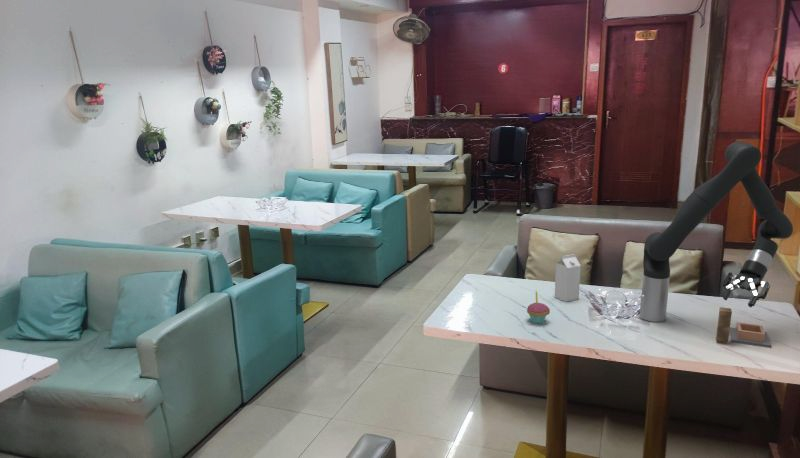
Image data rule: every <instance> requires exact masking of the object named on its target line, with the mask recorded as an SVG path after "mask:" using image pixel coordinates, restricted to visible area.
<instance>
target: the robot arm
mask: <svg viewBox="0 0 800 458" xmlns="http://www.w3.org/2000/svg"><path fill="white" fill-rule="evenodd" d="M724 158H725V161H726V163H727V164H726V166H724V167H723V169H722V170H721V171H719V173H717V175H714V176H713V177H712V178H711V179H709V180H707V181H705V182H703V183H702V184H700V185H699V186H698V187H696V188H695V189H694V190H693V191H692V192H691V193H690V194H689V196H687V198H685V200H684V201H683V202H682V203H681V206H680V207H679V208H678V211H677V212H676V215H675V216H674V219H673V220H672V221H671V223H670V224H669V225H668V227H666V228H665V230H663V231H662V232H653V233H650V234H649V235H648V236H647V237H646V239H645V241H644V246H643V247H644V248H643V263H642V264H643V265H642V266H643V277H642V285H641V286H642V287H641V297H640V307H639V319H641V320H645V321H647V322H653V323H662V322H665V321H666V318H667V309H668V308H667V307H668V297H669V288H670V277H671V267H670V258H672V257H673V255H674V254H675V253H676V251H677V250H678V248H679V247H680V246H681V245H682V243H684V241H685V240H686V238H687V237H688V236H689V235H690V233H692V232H693V231H694V230H695V229H696V228H697V227H698V226H699V225H700V224H701V223H702V222H703V221H704V219H706V217H708V216H709V215H710V214H711V212H713V211H714V209H715V208H716V207H717V206H718V205H719V203H720V202H721V201H723V199H724V198H726V197H727V195H728V194H729V193H730V192H731V191H732V190H733V189H734V187H735V186H737V184H739V183H741V184H742V187H743V188H744V191H745V192H746V194H747V195H748V199H749V200H750V203H751V205H752V206H753V209H754V211H755V214H756V215H757V217H758V218H760V219H763V221H762V222H760V224H759V226H758V229H757V230H758V231H757V236H756V243H755V244H754V246H753V248H752V250H751V252H750V253H749V254H748V255H747V257H746V258H745V259H746V260H745V261H744V263H743V265H742V267H741V269H740V271H739V273H738V274H737V275H736V274H733V273H732V271H731V272H728V273H727V275H726V277H725V278H724V279H723V281H722V283H721V286H722V288H723V289H724V291H723V293H722V298H723V300H724V301H727V300H728V299H729V297H730V295H731V293H732V292H733V291H735V290H738V289H740V290H746V291H749V292H751V291H752V294H753V295H751V297H750V298H749V301H748V303H747V305H748V307H749V308H752V307H755V305H756V303H757V301H758V300H759V299H762V300H766V297H767V295H768V293H769V290H770V288H771V284H770V282H769V281H768V280H767V281H763V280H764V278H765V276H766V274H767V272H768V270H769V268H770V267H771V264H772V261H773V259H774V258H775V255H776V253H777V251H778V248H779V245H778V244H777V242H775V241H774V240H772V239H778V240H779V239H780V240H781V239H789V238H790V237H791V236H792V235H793V233H794V228H793V227H794V226H793V223H792V221H791V220H790V218H788V216H787V215H786V214H785V213H784V212H783V211H782V209H780V208H779V206H778V203H777V202H776V200H775V197H774V195H773V193H772V191H771V190H770V189H769V187H768V185H767V184H766V183H765V181H764V180H763V179H762V177H761V176H760V174H759V172H758V170H757V166H758V165H759V163H760V162H761V159H762V151H761V150H760V149H759V147H757V146H755V145H753V144H750V143H749V142H745V141H734V142H732V143H730V144H729V145H728V146H727V148H726V149H725V152H724ZM759 287H761V291H760V292H758V291H757V289H758V288H759Z"/></svg>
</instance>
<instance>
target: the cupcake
mask: <svg viewBox="0 0 800 458" xmlns="http://www.w3.org/2000/svg"><path fill="white" fill-rule="evenodd" d="M526 312H527V314H528V315H529V317H530V321H531V323H534V324H544V322H545V319H546V317H547V316H548V315H550V313H551V311H550V307H549V306H548V305H546V304H544V303H540V302H539V299H538V292H537V290H535V302H533V303H531V304H529V305H527V309H526Z"/></svg>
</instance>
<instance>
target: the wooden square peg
mask: <svg viewBox="0 0 800 458" xmlns="http://www.w3.org/2000/svg"><path fill="white" fill-rule="evenodd" d="M732 312H733V310H732V308H729V307H728V308H727V307H723V306H722V307H719V311H718V319H717V328H716V335H715V336H716V337H715V342H716V344H722V345H729V338H730V332H729V331H730V327H731V321H732V315H733V313H732Z"/></svg>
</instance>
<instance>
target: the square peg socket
mask: <svg viewBox="0 0 800 458" xmlns="http://www.w3.org/2000/svg"><path fill="white" fill-rule="evenodd" d="M729 338H730V342H731V343H737V344H742V345H743V344H744V345H751V346H757V347H758V346H759V347H764V348H765V347H766V348H772V343H771V340H770V337H769V334H768V332H767V331H765V330H764V326H763V325H761V324H753V323H745V322H739V321H737V322H736V323H735V327H731V326H730V331H729Z"/></svg>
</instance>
